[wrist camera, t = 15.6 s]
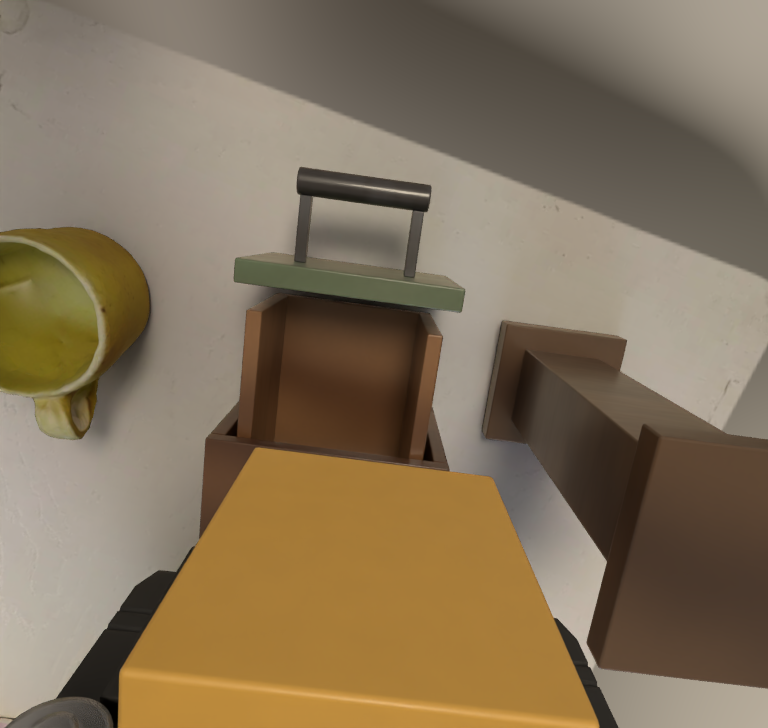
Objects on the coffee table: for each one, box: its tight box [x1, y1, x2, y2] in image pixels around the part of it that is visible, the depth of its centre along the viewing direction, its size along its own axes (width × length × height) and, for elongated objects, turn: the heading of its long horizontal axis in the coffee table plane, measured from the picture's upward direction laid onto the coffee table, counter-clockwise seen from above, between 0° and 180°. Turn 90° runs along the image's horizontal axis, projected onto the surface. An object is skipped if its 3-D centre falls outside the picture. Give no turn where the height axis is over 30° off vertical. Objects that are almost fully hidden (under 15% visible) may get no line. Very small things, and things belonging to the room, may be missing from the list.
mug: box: [0, 227, 150, 440], centre depth 33 cm, size 12×10×10 cm
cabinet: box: [199, 402, 450, 539], centre depth 35 cm, size 15×13×11 cm
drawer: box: [234, 167, 465, 460], centre depth 32 cm, size 18×11×9 cm, turn 172°
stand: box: [482, 321, 768, 689], centre depth 27 cm, size 8×8×22 cm
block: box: [118, 447, 599, 728], centre depth 9 cm, size 5×5×6 cm
